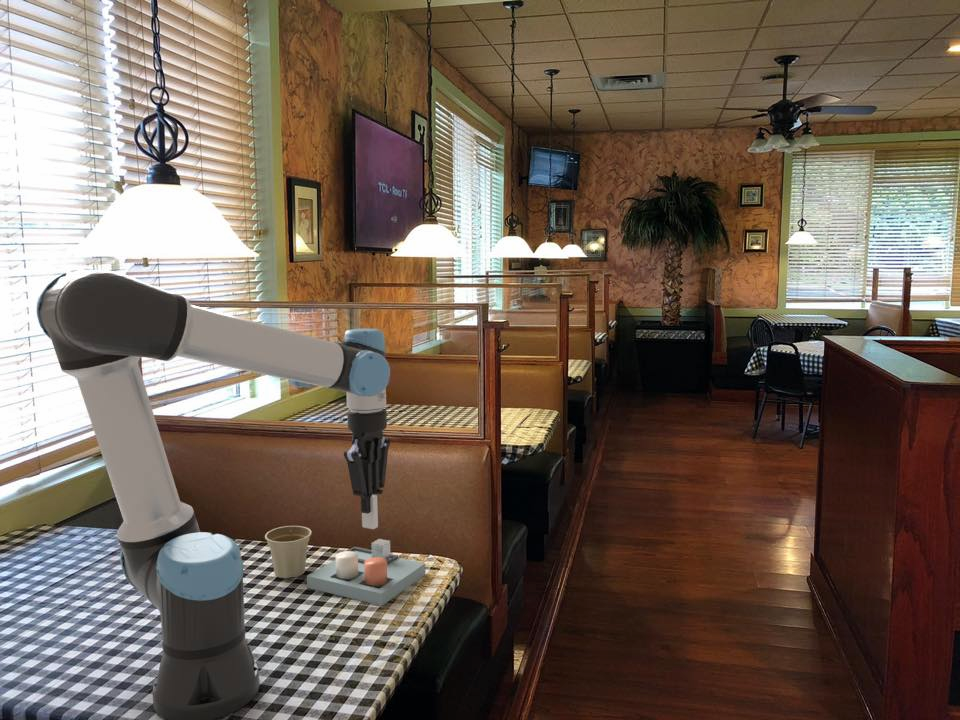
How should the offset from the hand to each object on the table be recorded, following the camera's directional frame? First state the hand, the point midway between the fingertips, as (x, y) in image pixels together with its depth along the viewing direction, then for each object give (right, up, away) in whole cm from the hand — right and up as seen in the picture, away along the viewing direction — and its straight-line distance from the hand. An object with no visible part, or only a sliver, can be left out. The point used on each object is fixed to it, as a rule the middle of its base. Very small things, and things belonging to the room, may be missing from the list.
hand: (370, 526), depth 146 cm
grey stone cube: (+1, -9, +10) cm, 14 cm away
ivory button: (-5, -10, +3) cm, 12 cm away
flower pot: (-18, -12, +10) cm, 24 cm away
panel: (-1, -12, +6) cm, 14 cm away
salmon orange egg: (+1, -11, 0) cm, 11 cm away
